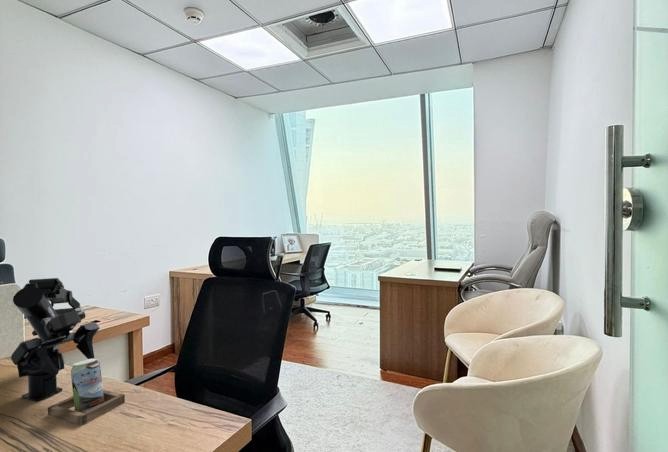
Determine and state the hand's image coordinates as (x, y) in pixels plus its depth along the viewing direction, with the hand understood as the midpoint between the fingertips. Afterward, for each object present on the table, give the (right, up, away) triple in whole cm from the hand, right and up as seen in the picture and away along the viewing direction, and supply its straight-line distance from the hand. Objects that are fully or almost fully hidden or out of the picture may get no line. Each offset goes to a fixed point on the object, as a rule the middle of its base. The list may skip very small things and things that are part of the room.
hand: (75, 367), depth 89 cm
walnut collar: (+4, -10, -2) cm, 11 cm away
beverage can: (+4, -10, -2) cm, 11 cm away
